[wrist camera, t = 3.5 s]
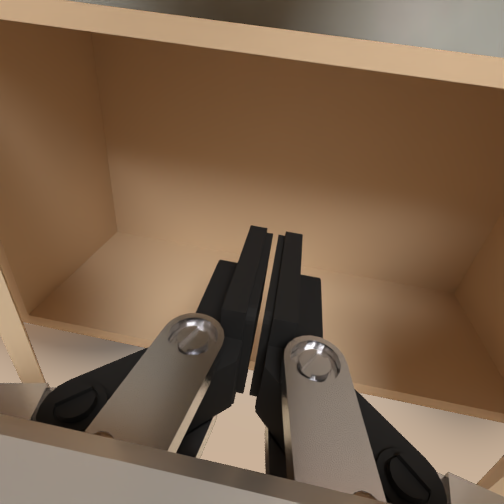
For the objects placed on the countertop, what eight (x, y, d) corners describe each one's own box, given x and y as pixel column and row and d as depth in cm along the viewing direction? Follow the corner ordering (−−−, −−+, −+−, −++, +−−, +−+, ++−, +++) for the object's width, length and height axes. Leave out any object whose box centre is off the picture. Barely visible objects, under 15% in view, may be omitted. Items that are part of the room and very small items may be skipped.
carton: (587, 77, 14) (886, 108, 7) (454, 298, 22) (529, 431, 14) (83, 10, 16) (-116, -24, 9) (115, 235, 23) (21, 324, 16)
